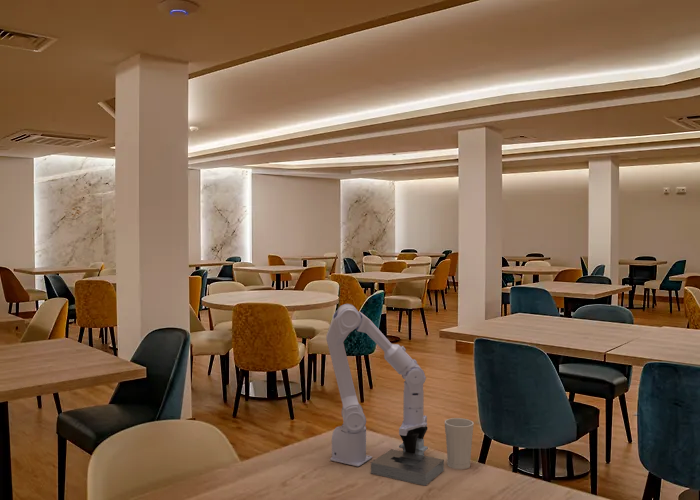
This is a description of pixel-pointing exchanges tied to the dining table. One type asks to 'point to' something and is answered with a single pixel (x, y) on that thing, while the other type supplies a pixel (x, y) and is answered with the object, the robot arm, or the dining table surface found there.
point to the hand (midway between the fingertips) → (413, 453)
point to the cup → (458, 442)
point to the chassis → (407, 467)
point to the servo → (417, 447)
